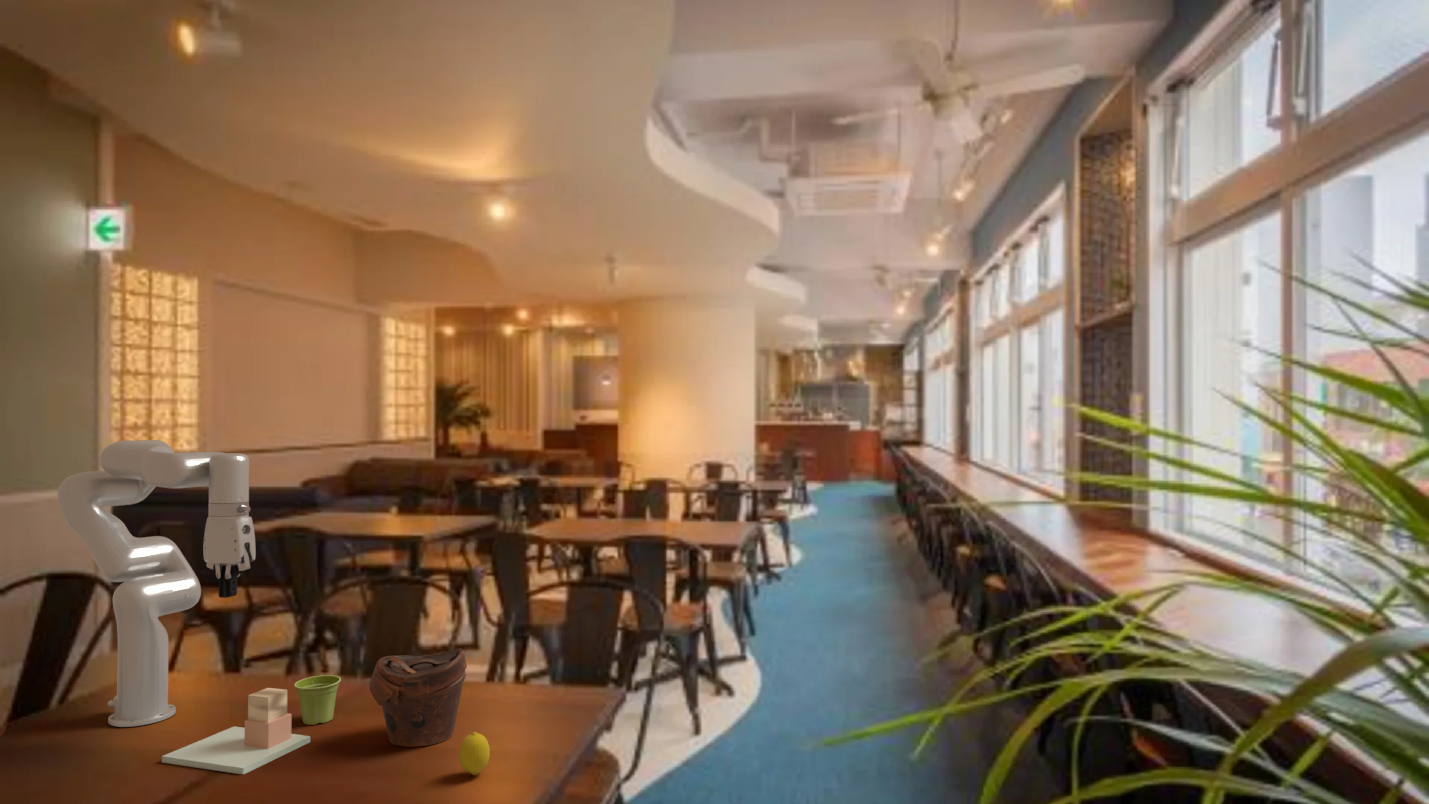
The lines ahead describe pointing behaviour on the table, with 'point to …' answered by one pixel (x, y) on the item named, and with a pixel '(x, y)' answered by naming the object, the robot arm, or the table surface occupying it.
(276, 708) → the maple cube
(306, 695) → the plant pot
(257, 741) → the base block
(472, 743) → the lemon
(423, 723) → the case
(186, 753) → the building board
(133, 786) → the table surface
